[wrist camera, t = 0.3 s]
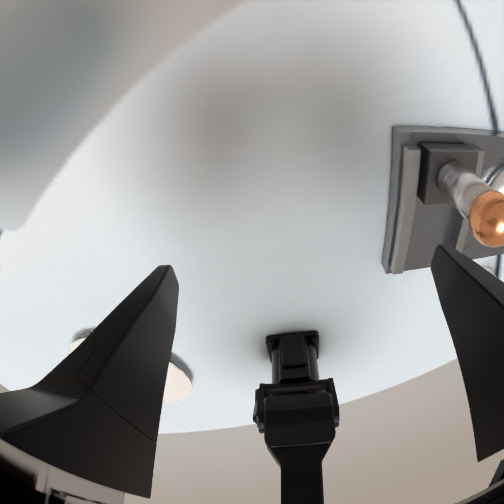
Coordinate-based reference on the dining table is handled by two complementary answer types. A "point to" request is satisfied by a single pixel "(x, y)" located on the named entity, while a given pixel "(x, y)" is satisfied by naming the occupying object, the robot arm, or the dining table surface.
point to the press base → (434, 215)
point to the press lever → (461, 189)
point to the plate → (175, 381)
